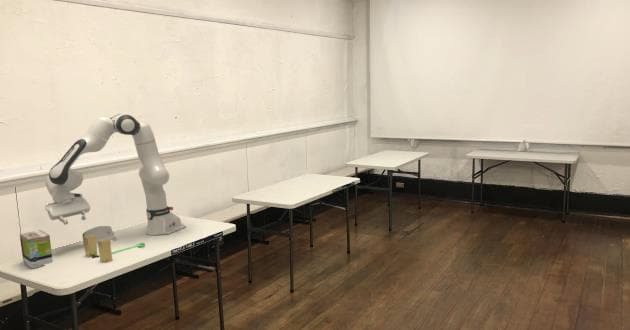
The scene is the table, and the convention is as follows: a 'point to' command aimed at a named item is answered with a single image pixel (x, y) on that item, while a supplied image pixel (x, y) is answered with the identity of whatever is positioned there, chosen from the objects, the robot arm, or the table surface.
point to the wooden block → (90, 245)
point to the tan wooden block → (105, 250)
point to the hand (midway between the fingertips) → (75, 221)
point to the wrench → (130, 247)
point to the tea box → (36, 248)
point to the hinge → (100, 233)
